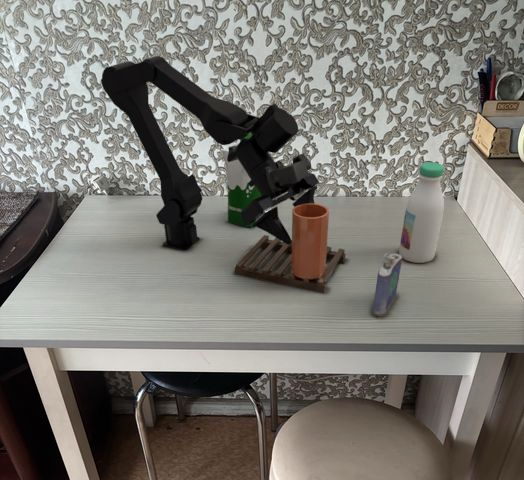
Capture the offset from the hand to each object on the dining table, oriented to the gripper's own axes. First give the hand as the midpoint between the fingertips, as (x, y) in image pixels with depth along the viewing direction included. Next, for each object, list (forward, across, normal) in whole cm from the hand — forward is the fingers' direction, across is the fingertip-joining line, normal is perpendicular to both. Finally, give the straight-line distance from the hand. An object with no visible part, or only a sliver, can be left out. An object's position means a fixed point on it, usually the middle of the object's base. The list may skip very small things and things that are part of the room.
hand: (304, 234), depth 106 cm
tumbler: (+6, 0, +4) cm, 8 cm away
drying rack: (+4, +2, +10) cm, 11 cm away
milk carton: (-13, +14, +27) cm, 33 cm away
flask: (+20, +2, -6) cm, 21 cm away
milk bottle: (+17, +23, -3) cm, 29 cm away
